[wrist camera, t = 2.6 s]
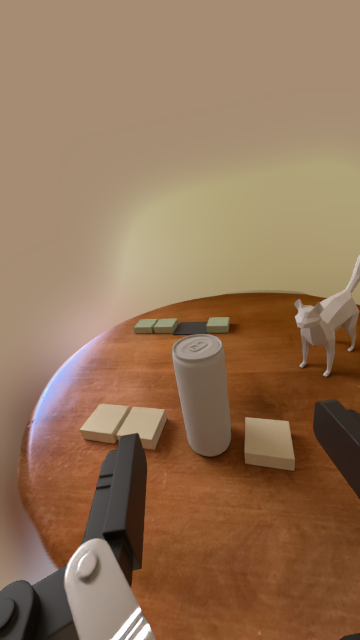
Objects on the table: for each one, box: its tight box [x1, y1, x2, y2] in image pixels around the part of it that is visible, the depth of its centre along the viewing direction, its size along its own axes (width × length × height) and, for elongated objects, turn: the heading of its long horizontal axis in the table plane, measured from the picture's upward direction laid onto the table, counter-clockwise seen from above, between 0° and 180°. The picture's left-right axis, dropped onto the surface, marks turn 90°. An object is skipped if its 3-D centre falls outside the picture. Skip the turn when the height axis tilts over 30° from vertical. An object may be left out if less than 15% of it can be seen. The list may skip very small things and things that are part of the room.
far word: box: [134, 317, 230, 335], centre depth 54 cm, size 21×6×2 cm, turn 74°
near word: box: [80, 404, 295, 471], centre depth 27 cm, size 23×4×2 cm, turn 74°
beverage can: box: [172, 334, 231, 457], centre depth 24 cm, size 5×5×12 cm
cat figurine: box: [294, 255, 360, 377], centre depth 34 cm, size 4×20×14 cm, turn 129°
